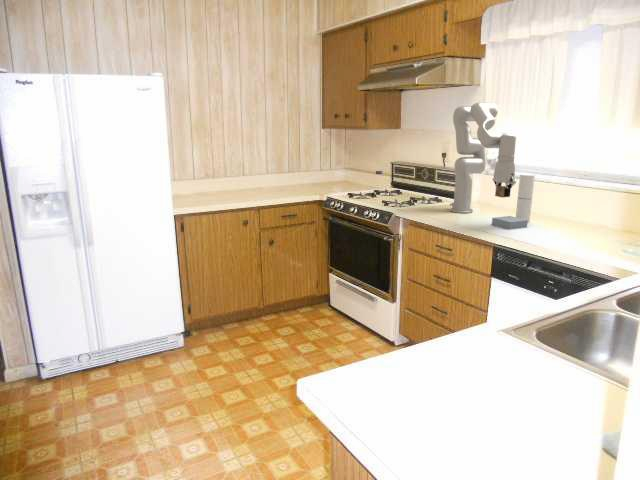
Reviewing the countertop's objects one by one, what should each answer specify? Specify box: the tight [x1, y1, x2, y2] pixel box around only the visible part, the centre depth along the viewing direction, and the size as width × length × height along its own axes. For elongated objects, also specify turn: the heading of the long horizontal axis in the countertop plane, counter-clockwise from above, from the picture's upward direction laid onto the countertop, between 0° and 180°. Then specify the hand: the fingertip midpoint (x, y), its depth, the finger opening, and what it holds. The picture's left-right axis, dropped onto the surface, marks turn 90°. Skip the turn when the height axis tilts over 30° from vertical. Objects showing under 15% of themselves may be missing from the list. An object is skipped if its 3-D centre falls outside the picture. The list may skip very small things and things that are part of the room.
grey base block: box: [491, 215, 529, 230], centre depth 255 cm, size 12×12×4 cm
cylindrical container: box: [515, 173, 536, 223], centre depth 263 cm, size 7×7×25 cm
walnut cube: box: [494, 185, 512, 198], centre depth 252 cm, size 5×5×5 cm
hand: (502, 195), depth 252 cm, fingers closed on walnut cube, 5 cm apart
